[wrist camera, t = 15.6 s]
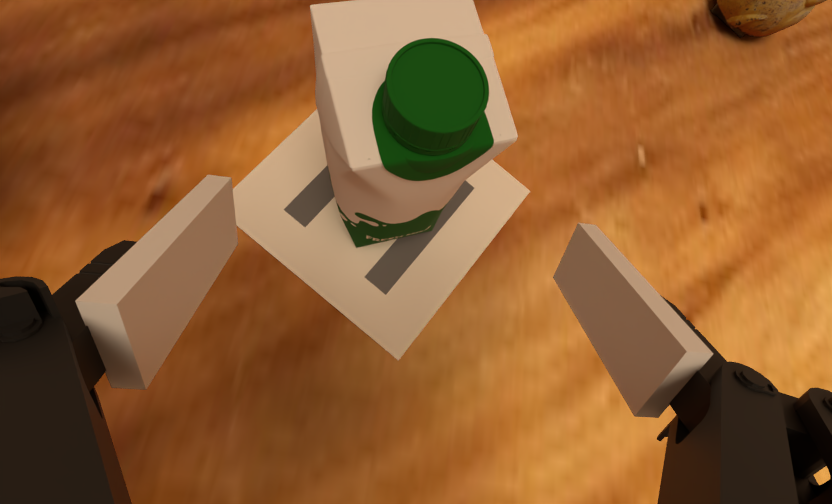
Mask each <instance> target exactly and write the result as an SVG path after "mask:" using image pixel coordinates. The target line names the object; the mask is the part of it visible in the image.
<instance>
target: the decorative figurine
mask: <svg viewBox="0 0 832 504" xmlns="http://www.w3.org/2000/svg"><path fill="white" fill-rule="evenodd" d="M824 1H826V0H717V4H716V5H715V7H714V8H713V9H712V10H711V12H712V13H713V14H715V15H717V16H718V17H719V18H720V19H721V20H722V21H723V22H724V23H725V24H727V26H729V27H730V28H731V29H732V30H733V31H734V32H735V33H736V34H737V35H738V36H740V37H743V36H744V35H745V34H748V35H749V36H752V37H754V36H757V37H762V36H768V35H770V34H773V33H776V32H778V31H781V30H783V29H785V28H788V27H790V26H792V25H794V24H796V23H798V22H799V21H801V20H802V19H803V18H804V17H806V16H807V15H808V14H809V13H810V12H811V10H812V9H813V8H814V6H815V5H817V4H820V3H822V2H824Z"/></svg>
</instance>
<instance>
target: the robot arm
mask: <svg viewBox="0 0 832 504" xmlns="http://www.w3.org/2000/svg"><path fill="white" fill-rule="evenodd" d="M237 245H238V237H237V227H236V218H235V208H234V198H233V189H232V179H231V178H230V177H222V176H215V175H207V176H206V177H205V178H204V179H203V180H202V181H201V182H200V183H199V184H198V185H197V186H196V187H195V188H194V189H193V190H192V191H190V192H189V193H188V194H187V195H186V196H185V197H184V198H183V199H182V200H181V201H180V202H179V203H178V204H177V205H176V206H175V207H174V208H173V209H172V210H170V211H169V212H168V213H167V214H166V215H165V216H164V217H163V218H162V219H161V220H160V221H159V222H158V223H157V224H156V225H155V226H154V227H153V228H152V229H150V230H149V231H148V232H147V233H146V234H145V235H144V236H143V237H142V238H141V239H140V240H139V241H138V242H134V241H125V240H124V241H122V242H120V243H117V244H115V245H113V246H111V247H109V248H107V249H105V250H103V251H102V252H101V253H100V254H99V255H98V256H96V257H95V258H94V259H93V260H92V261H91V264H87V265H86V266H85V267H84V268H83V269H81V270H80V273H79V274H76V275H75V276H73V277H72V278H71V279H70V280H69V281H68V282H66V283H65V284H64V285H63V286H62V287H61V288H60V289H58V290H57V291H56V292H55V293H54V294H53V295H51V293H50V290H49V288H48V286H47V285H46V284H45V283H44V282H43V280H40V279H37V278H33V277H10V278H3V279H0V504H132V503H131V500H130V497H129V494H128V491H127V487H126V484H125V481H124V478H123V475H122V471H121V468H120V465H119V462H118V459H117V455H116V452H115V449H114V446H113V442H112V439H111V436H110V433H109V430H108V426H107V423H106V420H105V417H104V414H103V410H102V407H101V404H100V401H99V398H98V394H97V392H96V390H95V388H94V386H95V384H96V383H97V382H98V381H99V379H100V378H101V377H102V375H103V374H104V373H106V375H107V378H108V380H109V382H110V385H111V387H112V388H125V389H143V390H146V389H147V388H148V386H149V384H150V383H151V381H152V380H153V378H154V377H155V375H156V373H157V372H158V370H159V369H160V367H161V365H162V364H163V362H164V361H165V359H166V357H167V356H168V354H169V353H170V351H171V350H172V348H173V346H174V345H175V343H176V342H177V340H178V338H179V337H180V335H181V334H182V332H183V330H184V329H185V327H186V326H187V324H188V323H189V321H190V319H191V318H192V316H193V315H194V313H195V311H196V310H197V308H198V307H199V305H200V304H201V302H202V300H203V299H204V297H205V296H206V294H207V292H208V291H209V289H210V288H211V286H212V284H213V283H214V281H215V280H216V278H217V277H218V275H219V273H220V272H221V270H222V269H223V267H224V265H225V264H226V262H227V261H228V259H229V257H230V256H231V254H232V253H233V251H234V250H235V248H236V246H237ZM553 278H554V280H555V282H556V283H557V285H558V287H559V288H560V290H561V292H562V293H563V295H564V297H565V299H566V300H567V302H568V304H569V305H570V307H571V309H572V311H573V312H574V314H575V316H576V317H577V319H578V321H579V322H580V324H581V326H582V328H583V329H584V331H585V333H586V334H587V336H588V338H589V340H590V341H591V343H592V345H593V346H594V348H595V350H596V351H597V353H598V355H599V357H600V358H601V360H602V362H603V363H604V365H605V367H606V369H607V370H608V372H609V374H610V375H611V377H612V379H613V381H614V382H615V384H616V386H617V387H618V389H619V391H620V392H621V394H622V396H623V398H624V399H625V401H626V403H627V404H628V406H629V408H630V410H631V411H632V413H633V415H634V416H637V417H655V418H658V417H659V416H660V415H661V414H662V413H663V411H664V410H665V409H666V408H667V407H668V406H669V405H671V407H672V408H673V410H674V411H675V413H676V414H677V415H676V416H675V418H674V419H673V420H672V421H671V422H670V423H669V424H668V425H667V426H666V427H665V428H664V430H663V431H662V432H661V433H660V434H659V435H658V437H657V440H659V441H661V440H662V439H663V438H664V437H668V441H667V447H666V453H665V460H664V466H663V472H662V479H661V485H660V491H659V498H658V504H832V392H830V391H828V390H824V389H820V388H810V389H809V390H808V391H807V392H806V393H804V394H803V395H802V396H801V397H800V398H796V397H793V396H789V395H786V394H783V393H780V392H778V390H777V388H776V387H775V386H774V385H773V384H772V383H771V382H770V381H769V380H768V379H767V378H765V377H764V376H763V375H761V374H760V373H758V372H757V371H755V370H753V369H752V368H750V367H748V366H745V365H743V364H740V363H736V362H727V361H726V360H725V359H724V358H723V357H722V356H721V355H720V353H719V352H718V351H717V350H716V349H715V348H714V347H713V346H712V345H711V344H710V343H709V342H708V341H707V340H706V338H705V337H704V336H703V335H702V334H701V333H700V332H699V331H698V330H697V329H695V327H694V326H693V324H692V323H691V322H690V321H689V320H686V317H685V316H684V315H683V314H682V313H681V312H680V311H679V309H678V308H677V307H676V306H675V305H673V304H672V303H670V302H669V301H668V300H666V299H665V298H663V297H662V296H661V295H659V293H658V292H657V291H656V290H655V289H654V288H653V287H652V286H651V285H650V284H649V283H648V281H647V280H646V279H645V278H644V277H643V276H642V275H641V274H640V273H639V272H638V271H637V269H636V268H635V267H634V266H633V265H632V264H631V263H630V262H629V261H628V260H627V258H626V257H625V256H624V255H623V254H622V253H621V252H620V251H619V250H618V249H617V248H616V246H615V245H614V244H613V243H612V242H611V241H610V240H609V239H608V238H607V237H606V235H605V234H604V233H603V232H602V231H601V230H600V229H599V228H598V227H597V226H596V225H592V224H584V223H578V224H577V227H576V229H575V231H574V233H573V235H572V237H571V240H570V242H569V244H568V246H567V248H566V251H565V253H564V255H563V257H562V259H561V261H560V264H559V266H558V268H557V270H556V272H555V274H554V277H553ZM825 466H827V468H828V469H829V472H830V475H831V479H830V480H829V481H827V482H826V483H824V484H822V485H819V484H818V483H817V482H816V479H815V477H814V474H815V473H817V472H818V471H819V470H821V469H822V468H824V467H825Z"/></svg>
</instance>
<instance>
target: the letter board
mask: <svg viewBox="0 0 832 504" xmlns="http://www.w3.org/2000/svg"><path fill="white" fill-rule="evenodd" d="M529 192H530V191H529V190H528V189H527V188H526V187H525V186H523V185H522V184H521V183H520V182H519V181H517V180H516V179H515V178H514V177H513V176H511V175H510V174H509V173H508V172H507V171H505V170H504V169H503V168H502V167H501V166H499V165H498V164H497V163H496V162H495V161H493V160H491V161H489V162H488V163H487V164H485V165H484V166H483V167H482V168H480V169H479V170H478V171H476V172H475V173H474V174H473V175H471V176H470V177H469V178H467V179H466V180H465V181H464V182H463V183H462V185H461V186H460V187H459V189H458V190H457V191H456V193H455V194H454V195H453V197H452V198H451V200H450V201H449V202H448V204H447V205H446V206H445V208H444V209H443V210H442V212H441V214H440V216H439V218H438V220H437V222H436V224H435V226H434V228H433V230H432V231H428V232H424V233H420V234H415V235H411V236H407V237H402V238H398V239H393V240H389V241H385V242H380V243H376V244H372V245H367V246H363V247H358V248H356V246H355V244H354V242H353V240H352V238H351V236H350V234H349V232H348V230H347V228H346V226H345V224H344V222H343V220H342V218H341V216H340V213H339V209H338V206H337V203H336V199H335V196H334V192H333V188H332V184H331V180H330V176H329V170H328V165H327V160H326V154H325V149H324V143H323V137H322V132H321V125H320V118H319V114H318V110H316V111H315V112H313V113H312V114H311V115H310V116H309V117H308V118H307V119H306V120H305V121H304V122H303V123H302V124H301V125H300V126H299V127H298V128H297V129H296V130H295V131H293V132H292V133H291V134H290V135H289V136H288V137H287V138H286V139H285V140H284V141H283V142H282V143H281V144H280V145H279V146H278V147H277V148H276V149H275V150H274V151H272V152H271V153H270V154H269V155H268V156H267V157H266V158H265V159H264V160H263V161H262V162H261V163H260V164H259V165H258V166H257V167H256V168H255V169H254V170H252V171H251V172H250V173H249V174H248V175H247V176H246V177H245V178H244V179H243V180H242V181H241V182H240V183H239V184H238V185H237V186H236V187H235V188H234V189H233V198H234V208H235V218H236V225H237V226H238V227H239V228H240V229H242V230H243V231H244V232H245V233H246V234H248V235H249V236H250V237H251V238H252V239H254V240H255V241H256V242H257V243H258V244H260V245H261V246H262V247H263V248H264V249H265V250H267V251H268V252H269V253H270V254H271V255H273V256H274V257H275V258H276V259H277V260H279V261H280V262H281V263H282V264H283V265H285V266H286V267H287V268H288V269H289V270H291V271H292V272H293V273H294V274H295V275H297V276H298V277H299V278H300V279H301V280H303V281H304V282H305V283H306V284H307V285H309V286H310V287H311V288H312V289H313V290H315V291H316V292H317V293H318V294H319V295H321V296H322V297H323V298H324V299H325V300H327V301H328V302H329V303H330V304H331V305H332V306H334V307H335V308H336V309H337V310H338V311H340V312H341V313H342V314H343V315H344V316H346V317H347V318H348V319H349V320H350V321H352V322H353V323H354V324H355V325H356V326H358V327H359V328H360V329H361V330H362V331H364V332H365V333H366V334H367V335H368V336H370V337H371V338H372V339H373V340H374V341H376V342H377V343H378V344H379V345H380V346H382V347H383V348H384V349H385V350H386V351H388V352H389V353H390V354H391V355H392V356H394V357H395V358H396V359H397V360H398V361H399V359H400V358H401V357H402V355H403V354H404V353H405V352H406V350H407V349H408V348H409V346H410V345H411V344H412V343H413V341H414V340H415V339H416V337H417V336H418V335H419V334H420V332H421V331H422V330H423V328H424V327H425V326H426V325H427V323H428V322H429V321H430V319H431V318H432V317H433V316H434V314H435V313H436V312H437V310H438V309H439V308H440V307H441V305H442V304H443V303H444V301H445V300H446V299H447V298H448V296H449V295H450V294H451V292H452V291H453V290H454V289H455V287H456V286H457V285H458V283H459V282H460V281H461V280H462V278H463V277H464V276H465V274H466V273H467V272H468V271H469V269H470V268H471V267H472V265H473V264H474V263H475V262H476V260H477V259H478V258H479V256H480V255H481V254H482V253H483V251H484V250H485V249H486V247H487V246H488V245H489V244H490V242H491V241H492V240H493V238H494V237H495V236H496V235H497V233H498V232H499V231H500V229H501V228H502V227H503V226H504V224H505V223H506V222H507V220H508V219H509V218H510V217H511V215H512V214H513V213H514V211H515V210H516V209H517V208H518V206H519V205H520V204H521V202H522V201H523V200H524V199H525V197H526V196H527V195H528V193H529Z"/></svg>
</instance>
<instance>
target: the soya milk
mask: <svg viewBox="0 0 832 504" xmlns="http://www.w3.org/2000/svg"><path fill="white" fill-rule="evenodd" d="M310 11H311V22H312V30H313V40H314V52H315V65H316V90H315V97H316V106H317V110H318V114H319V118H320V125H321V132H322V137H323V143H324V149H325V154H326V160H327V165H328V170H329V176H330V180H331V184H332V188H333V192H334V196H335V199H336V203H337V206H338V209H339V213H340V216H341V218H342V220H343V222H344V224H345V226H346V228H347V230H348V232H349V234H350V236H351V238H352V240H353V242H354V244H355V246H356V248H358V247H363V246H367V245H372V244H376V243H380V242H385V241H389V240H393V239H398V238H402V237H407V236H411V235H415V234H420V233H424V232H428V231H432V230H433V228H434V226H435V224H436V222H437V220H438V218H439V216H440V214H441V212H442V210H443V209H444V208H445V206H446V205H447V204H448V202H449V201H450V200H451V198H452V197H453V195H454V194H455V193H456V191H457V190H458V189H459V187H460V186H461V185H462V183H463V182H464V181H465V180H466V179H467V178H469V177H470V176H471V175H473V174H474V173H475V172H476V171H478V170H479V169H480V168H482V167H483V166H484V165H485V164H487V163H488V162H489V161H491V160H492V159H493V158H494V157H496V156H497V155H498V154H500V153H501V152H502V151H504V150H505V149H506V148H507V147H509V146H510V145H511V144H513V143H514V142H515V141H516V140H517V137H518V135H517V131H516V128H515V125H514V121H513V118H512V115H511V112H510V109H509V105H508V102H507V99H506V96H505V92H504V89H503V86H502V83H501V79H500V76H499V73H498V70H497V67H496V63H495V60H494V54H493V50H492V47H491V44H490V41H489V38H488V36H487V34H484V33H483V30H482V27H481V24H480V21H479V17H478V14H477V11H476V8H475V5H474V2H473V0H355V1H345V2H335V3H325V4H315V5H310Z"/></svg>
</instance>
